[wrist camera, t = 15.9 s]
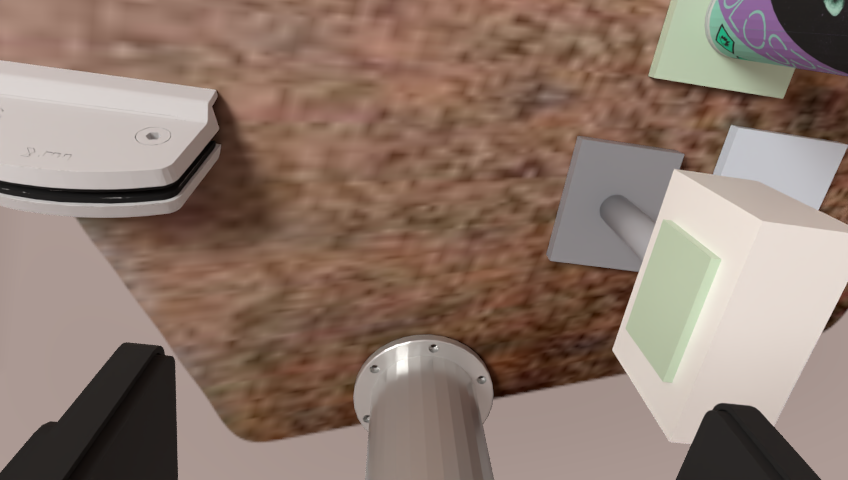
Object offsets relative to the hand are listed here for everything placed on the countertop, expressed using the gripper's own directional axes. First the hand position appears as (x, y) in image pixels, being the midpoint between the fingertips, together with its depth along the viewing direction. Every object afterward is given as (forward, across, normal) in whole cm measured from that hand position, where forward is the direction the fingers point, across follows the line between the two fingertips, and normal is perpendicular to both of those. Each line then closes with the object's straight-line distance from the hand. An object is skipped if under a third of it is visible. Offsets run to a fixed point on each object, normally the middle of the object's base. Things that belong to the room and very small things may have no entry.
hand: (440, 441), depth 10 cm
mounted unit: (+33, -17, +5) cm, 38 cm away
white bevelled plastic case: (+34, +22, +4) cm, 40 cm away
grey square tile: (+33, -29, +2) cm, 44 cm away
